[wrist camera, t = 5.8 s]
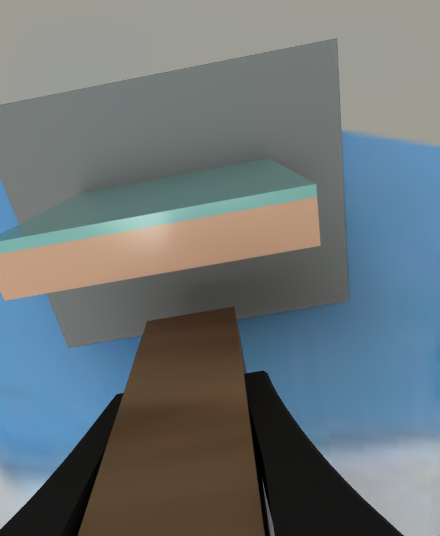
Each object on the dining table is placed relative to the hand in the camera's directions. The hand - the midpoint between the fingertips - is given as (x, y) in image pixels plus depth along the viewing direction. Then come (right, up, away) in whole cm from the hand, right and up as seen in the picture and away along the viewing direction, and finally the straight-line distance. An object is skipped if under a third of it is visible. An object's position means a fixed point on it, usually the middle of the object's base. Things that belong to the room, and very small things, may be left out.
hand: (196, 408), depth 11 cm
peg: (0, +1, +3) cm, 3 cm away
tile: (-1, +7, +4) cm, 9 cm away
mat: (-1, +7, +5) cm, 9 cm away
